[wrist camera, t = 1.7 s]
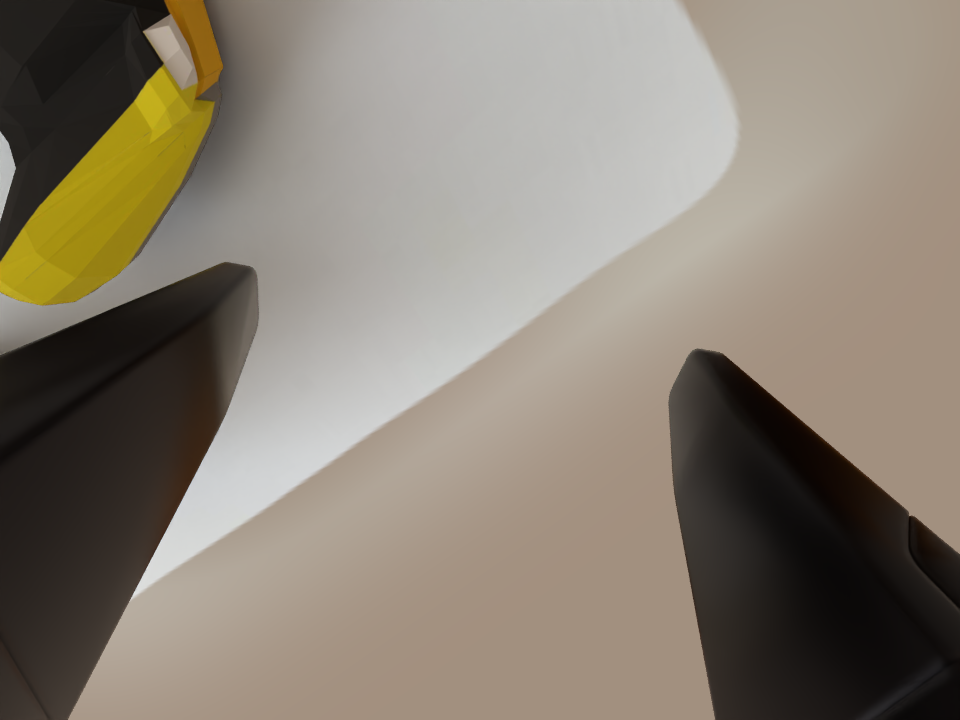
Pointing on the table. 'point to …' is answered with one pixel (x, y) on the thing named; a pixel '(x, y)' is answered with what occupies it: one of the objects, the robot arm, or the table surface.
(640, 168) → the table surface
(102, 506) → the robot arm
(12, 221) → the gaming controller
